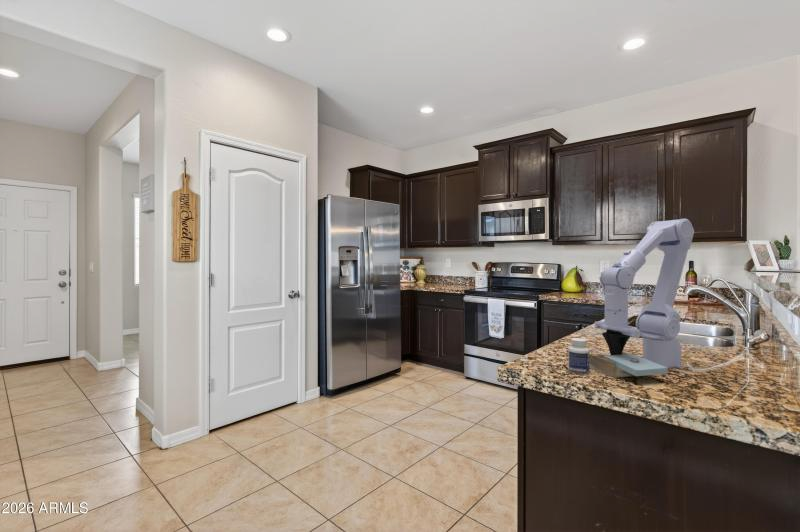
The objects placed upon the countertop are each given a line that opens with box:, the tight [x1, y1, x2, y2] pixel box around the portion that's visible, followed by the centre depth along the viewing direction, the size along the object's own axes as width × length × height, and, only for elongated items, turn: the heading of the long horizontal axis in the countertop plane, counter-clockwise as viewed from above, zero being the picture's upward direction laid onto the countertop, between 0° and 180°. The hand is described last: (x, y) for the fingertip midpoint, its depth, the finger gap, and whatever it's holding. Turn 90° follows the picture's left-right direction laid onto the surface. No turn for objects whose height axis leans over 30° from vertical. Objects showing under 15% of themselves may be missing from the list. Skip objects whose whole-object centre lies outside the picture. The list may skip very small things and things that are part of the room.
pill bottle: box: [567, 337, 591, 375], centre depth 107 cm, size 5×5×10 cm
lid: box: [604, 353, 669, 377], centre depth 101 cm, size 9×11×2 cm
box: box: [590, 351, 636, 379], centre depth 109 cm, size 11×12×5 cm
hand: (615, 358), depth 108 cm, fingers closed
